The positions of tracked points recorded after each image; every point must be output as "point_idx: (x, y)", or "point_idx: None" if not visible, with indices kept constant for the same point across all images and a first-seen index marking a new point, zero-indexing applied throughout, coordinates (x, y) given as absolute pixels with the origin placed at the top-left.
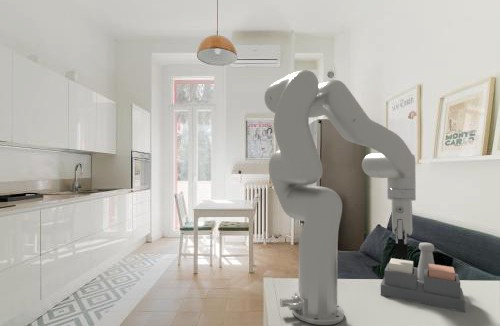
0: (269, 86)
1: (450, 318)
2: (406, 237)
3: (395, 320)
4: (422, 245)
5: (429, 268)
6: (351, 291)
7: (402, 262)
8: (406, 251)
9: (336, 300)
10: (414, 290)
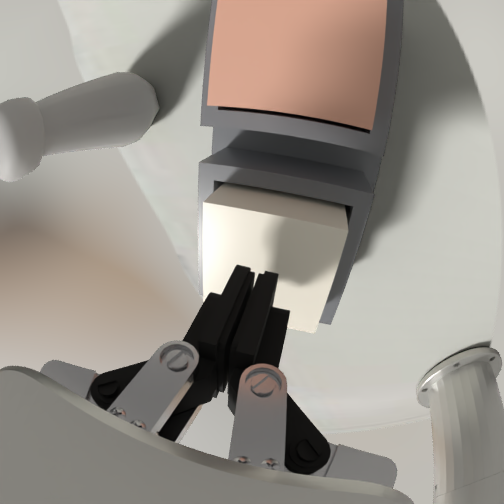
0: None
1: (463, 91)
2: (178, 396)
3: (498, 256)
4: (18, 164)
5: (352, 120)
6: (335, 338)
7: (269, 270)
8: (268, 308)
9: (489, 382)
10: (371, 182)
